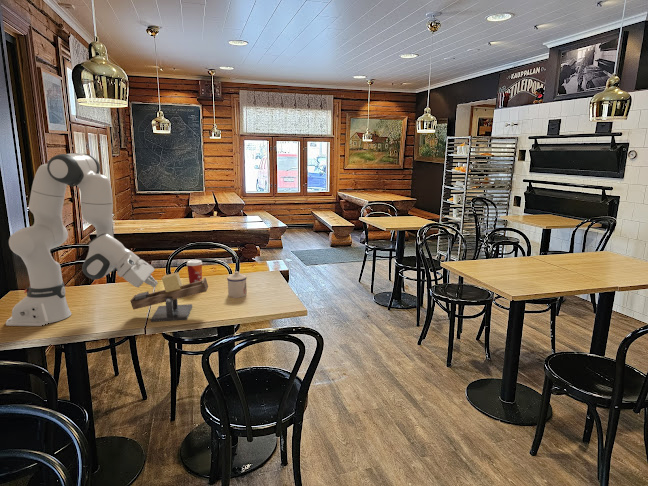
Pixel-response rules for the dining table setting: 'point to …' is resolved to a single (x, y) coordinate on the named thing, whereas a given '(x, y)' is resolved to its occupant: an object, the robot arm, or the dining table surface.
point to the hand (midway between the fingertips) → (156, 285)
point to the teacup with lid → (237, 285)
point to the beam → (171, 294)
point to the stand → (171, 311)
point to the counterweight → (142, 296)
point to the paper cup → (194, 270)
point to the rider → (172, 282)
